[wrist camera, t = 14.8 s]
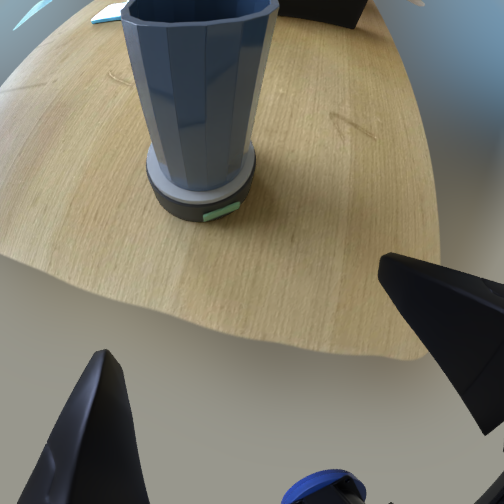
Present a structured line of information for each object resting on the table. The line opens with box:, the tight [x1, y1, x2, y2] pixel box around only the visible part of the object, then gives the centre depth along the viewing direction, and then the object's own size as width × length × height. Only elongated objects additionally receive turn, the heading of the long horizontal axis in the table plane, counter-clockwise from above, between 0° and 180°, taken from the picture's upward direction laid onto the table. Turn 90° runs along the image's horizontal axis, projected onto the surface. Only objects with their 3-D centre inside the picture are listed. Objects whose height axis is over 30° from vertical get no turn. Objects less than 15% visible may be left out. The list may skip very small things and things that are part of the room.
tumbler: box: [120, 0, 280, 192], centre depth 14 cm, size 7×7×13 cm
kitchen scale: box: [146, 140, 256, 222], centre depth 22 cm, size 9×9×4 cm
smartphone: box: [91, 2, 127, 24], centre depth 31 cm, size 8×1×15 cm
